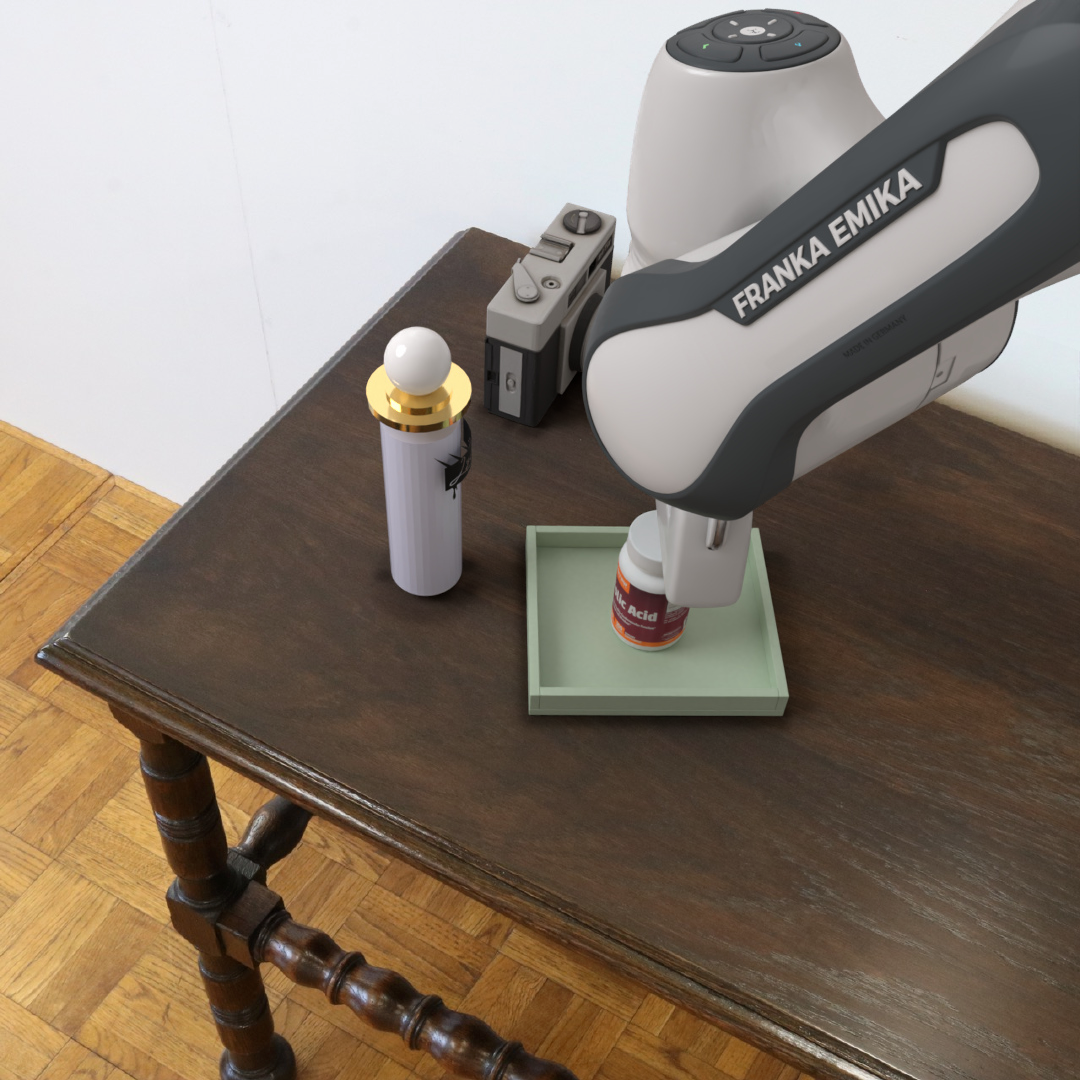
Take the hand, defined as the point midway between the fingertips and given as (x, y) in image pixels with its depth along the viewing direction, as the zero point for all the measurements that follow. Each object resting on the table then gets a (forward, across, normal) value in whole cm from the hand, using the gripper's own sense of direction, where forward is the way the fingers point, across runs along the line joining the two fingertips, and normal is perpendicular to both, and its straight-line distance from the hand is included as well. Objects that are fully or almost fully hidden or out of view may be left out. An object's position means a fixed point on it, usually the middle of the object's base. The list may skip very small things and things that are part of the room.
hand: (674, 528), depth 72 cm
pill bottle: (+9, 0, +1) cm, 9 cm away
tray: (+9, 0, +1) cm, 9 cm away
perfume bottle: (+9, +4, +15) cm, 18 cm away
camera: (+9, +24, +5) cm, 26 cm away
